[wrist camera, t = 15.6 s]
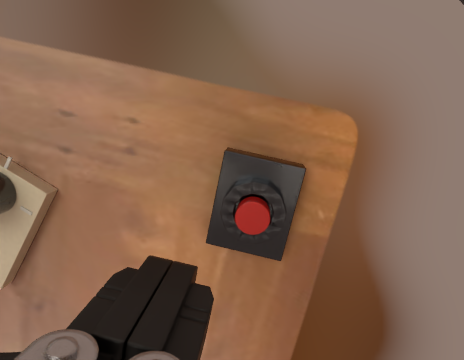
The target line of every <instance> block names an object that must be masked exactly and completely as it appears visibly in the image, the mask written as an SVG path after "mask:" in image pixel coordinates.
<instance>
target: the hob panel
mask: <svg viewBox="0 0 464 360" xmlns="http://www.w3.org/2000/svg"><path fill="white" fill-rule="evenodd" d="M11 160H12V157H10V156H9V157H8V158H6V157H5V156H3V155H2V154H0V172H1V173H3V174H4V175H6V176H7V177H8V178H9V179H10V180H11V182H12V183H13V185H14V187H15V190H16V201H15V204H14V206H13V207H12V208H11V209H10V210H9V211H7V212H5V213H3V214H0V290H1V289H3V288H4V287H5V286H7V285H8V284H9V283H11V282H12V281H13V280H14V278H15V276H16V274H17V272H18V270H19V267H20V265H21V263H22V261H23V259H24V257H25V255H26V253H27V251H28V249H29V247H30V245H31V243H32V241H33V239H34V237H35V235H36V233H37V231H38V229H39V227H40V225H41V223H42V221H43V219H44V217H45V215H46V213H47V211H48V209H49V206H50V204H51V202H52V200H53V198H54V196H55V194H56V192H57V190H58V189H57V188H55V187H53V186H52V185H50V184H49V183H47V182H45V181H44V180H42V179H40V178H39V177H37V176H36V175H34V174H32V173H31V172H29V171H28V170H26V169H24V168H23V167H21V166H19V165H18V164H16V163H15V162H13V161H11Z"/></svg>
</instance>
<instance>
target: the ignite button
mask: <svg viewBox="0 0 464 360" xmlns="http://www.w3.org/2000/svg"><path fill="white" fill-rule="evenodd" d="M235 222H236V225H237V226H238V228H239V229H240V230H241V231H242V232H244V233H246V234H250V235H256V234H260V233H262V232H263V231H265V230H266V229H267V227H268V225H269V223H270V209H269V206H268V204H267V203H266V202H265V201H264V200H263V199H261V198H259V197H247V198H245V199H243V200H242V201H241V202H240V203H239V205H238V207H237V210H236V214H235Z"/></svg>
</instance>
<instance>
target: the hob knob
mask: <svg viewBox="0 0 464 360" xmlns="http://www.w3.org/2000/svg"><path fill="white" fill-rule="evenodd" d="M15 201H16V190H15V187H14V185H13V183H12V182H11V180H10V179H9V178H8V177H7V176H6V175H4V174H3V173H1V172H0V214H3V213H5V212H7V211H9V210H10V209H11V208H12V207H13V206H14V204H15Z"/></svg>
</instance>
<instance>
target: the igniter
mask: <svg viewBox="0 0 464 360" xmlns="http://www.w3.org/2000/svg"><path fill="white" fill-rule="evenodd" d="M305 171H306V168H305V166H304V165H303V164H299V163H295V162H290V161H286V160H282V159H277V158H273V157H268V156H264V155H259V154H255V153H251V152H246V151H242V150H237V149H233V148H227V149H226V150H225V152H224V157H223V162H222V167H221V172H220V176H219V181H218V186H217V191H216V196H215V200H214V205H213V210H212V215H211V220H210V225H209V229H208V234H207V239H206V243H208V244H212V245H216V246H220V247H224V248H228V249H233V250H237V251H241V252H245V253H249V254H253V255H257V256H262V257H266V258H270V259H274V260H278V261H281V259H282V255H283V252H284V248H285V244H286V241H287V237H288V233H289V230H290V226H291V222H292V219H293V215H294V211H295V208H296V204H297V200H298V197H299V193H300V189H301V186H302V182H303V179H304V175H305ZM247 197H259V198H261V199H263V200H264V201H265V202H266V203H267V204H268V206H269V209H270V223H269V225H268V227H267V229H266V230H265V231H263V232H262V233H260V234H256V235H250V234H246V233H244V232H242V231H241V230H240V229H239V228H238V226H237V225H236V222H235V214H236V210H237V207H238V205H239V203H240V202H241V201H242V200H243V199H245V198H247Z"/></svg>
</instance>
